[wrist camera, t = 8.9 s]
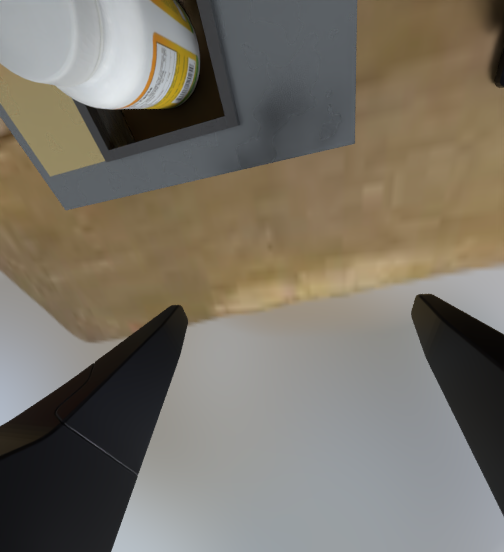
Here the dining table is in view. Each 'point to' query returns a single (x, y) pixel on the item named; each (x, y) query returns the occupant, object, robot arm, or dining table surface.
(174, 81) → the supplement bottle
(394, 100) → the dining table surface
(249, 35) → the grey base block
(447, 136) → the dining table surface
